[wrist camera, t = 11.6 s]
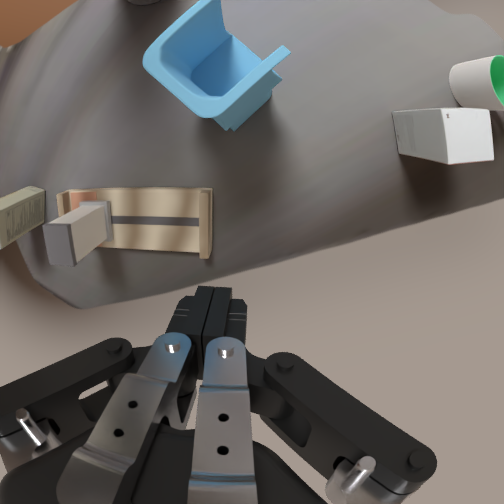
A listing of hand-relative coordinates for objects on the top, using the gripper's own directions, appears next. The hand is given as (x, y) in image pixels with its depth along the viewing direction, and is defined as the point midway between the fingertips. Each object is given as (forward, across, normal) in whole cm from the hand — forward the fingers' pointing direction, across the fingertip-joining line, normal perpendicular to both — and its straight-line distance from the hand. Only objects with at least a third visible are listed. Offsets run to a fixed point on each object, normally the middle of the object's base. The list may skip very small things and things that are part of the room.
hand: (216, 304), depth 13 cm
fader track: (+29, -16, -5) cm, 34 cm away
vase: (+29, -2, +13) cm, 32 cm away
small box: (+29, +24, +11) cm, 40 cm away
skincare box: (+29, -37, -2) cm, 47 cm away
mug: (+29, +36, +21) cm, 51 cm away
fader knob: (+27, -22, -5) cm, 35 cm away
